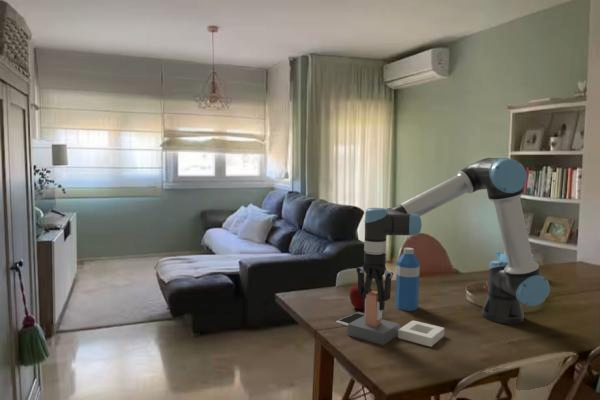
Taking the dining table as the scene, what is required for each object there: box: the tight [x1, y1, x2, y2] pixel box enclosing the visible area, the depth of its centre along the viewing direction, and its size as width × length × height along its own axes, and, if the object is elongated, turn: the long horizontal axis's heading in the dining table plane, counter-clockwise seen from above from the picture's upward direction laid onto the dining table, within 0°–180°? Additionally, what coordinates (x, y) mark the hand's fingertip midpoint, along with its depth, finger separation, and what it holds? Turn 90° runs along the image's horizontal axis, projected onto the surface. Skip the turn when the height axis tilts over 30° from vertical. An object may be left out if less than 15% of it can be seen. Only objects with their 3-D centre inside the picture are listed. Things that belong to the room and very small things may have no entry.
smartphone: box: [335, 311, 365, 327], centre depth 181 cm, size 7×16×1 cm, turn 138°
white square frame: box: [397, 320, 445, 348], centre depth 165 cm, size 12×12×3 cm
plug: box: [365, 290, 382, 327], centre depth 166 cm, size 4×4×15 cm
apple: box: [349, 284, 373, 311], centre depth 194 cm, size 10×10×10 cm
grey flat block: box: [347, 315, 401, 346], centre depth 166 cm, size 14×12×4 cm
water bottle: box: [394, 247, 421, 311], centre depth 196 cm, size 9×9×25 cm
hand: (373, 317), depth 166 cm, fingers closed on plug, 4 cm apart
